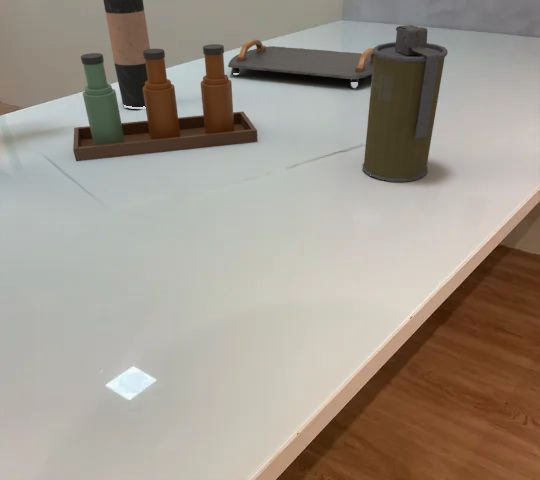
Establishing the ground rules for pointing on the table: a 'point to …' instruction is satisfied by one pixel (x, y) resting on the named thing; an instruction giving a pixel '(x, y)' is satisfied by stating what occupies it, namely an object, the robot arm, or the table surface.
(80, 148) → the row tray
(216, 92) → the amber bottle far
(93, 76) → the green bottle
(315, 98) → the table surface
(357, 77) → the serving tray
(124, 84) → the travel mug
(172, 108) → the amber bottle mid
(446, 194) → the table surface
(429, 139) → the canister
